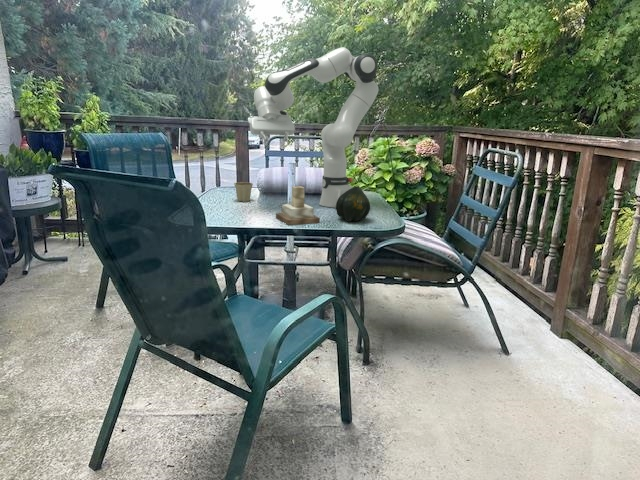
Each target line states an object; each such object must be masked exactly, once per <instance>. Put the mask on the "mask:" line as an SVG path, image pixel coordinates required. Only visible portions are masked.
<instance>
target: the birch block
mask: <svg viewBox="0 0 640 480" xmlns="http://www.w3.org/2000/svg"><path fill="white" fill-rule="evenodd" d="M305 192H306V191H305V187H304V186H301V185H298V186H297V185H295V186H291V204H292V206H293V207H304V204H305Z"/></svg>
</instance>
